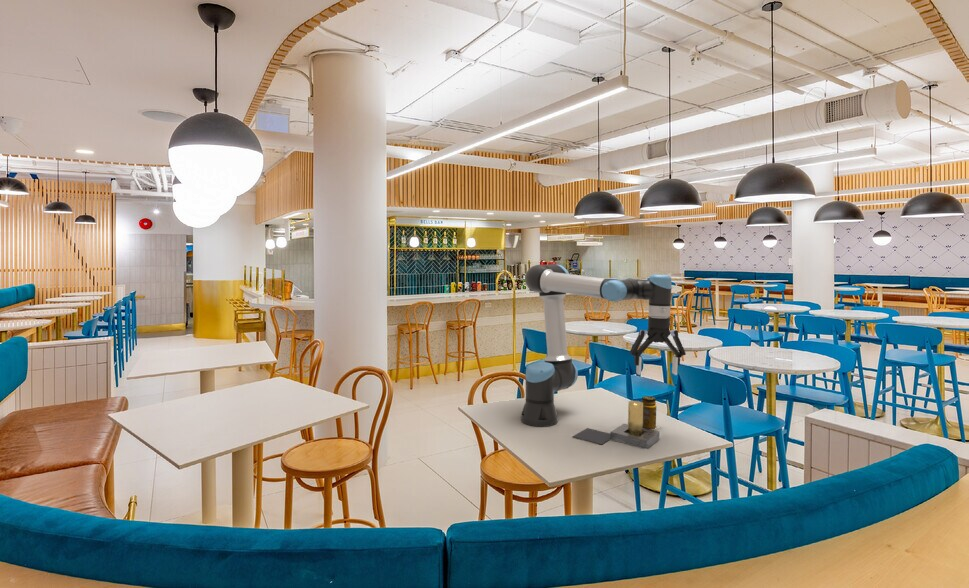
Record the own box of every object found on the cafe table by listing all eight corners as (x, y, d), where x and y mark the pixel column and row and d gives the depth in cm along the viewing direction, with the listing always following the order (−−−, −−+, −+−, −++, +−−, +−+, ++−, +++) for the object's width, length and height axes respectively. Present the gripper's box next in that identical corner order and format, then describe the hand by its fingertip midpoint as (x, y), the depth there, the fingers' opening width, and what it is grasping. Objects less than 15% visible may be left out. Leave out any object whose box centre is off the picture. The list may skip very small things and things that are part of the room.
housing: (610, 439, 185) (610, 431, 184) (623, 431, 194) (623, 423, 194) (647, 449, 176) (647, 440, 175) (659, 439, 185) (659, 431, 185)
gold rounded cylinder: (625, 439, 184) (626, 403, 183) (630, 436, 188) (631, 399, 187) (638, 443, 181) (639, 405, 180) (644, 439, 185) (645, 402, 184)
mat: (572, 437, 187) (572, 436, 187) (587, 428, 196) (587, 427, 196) (601, 445, 179) (601, 444, 179) (616, 435, 188) (616, 434, 188)
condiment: (660, 428, 198) (661, 398, 197) (646, 432, 193) (647, 401, 192) (645, 422, 204) (646, 394, 203) (631, 426, 199) (632, 397, 198)
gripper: (629, 318, 177) (627, 376, 179) (697, 318, 178) (694, 376, 180) (622, 315, 184) (620, 371, 186) (687, 315, 186) (684, 371, 188)
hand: (656, 374), depth 183 cm, fingers open, 13 cm apart
